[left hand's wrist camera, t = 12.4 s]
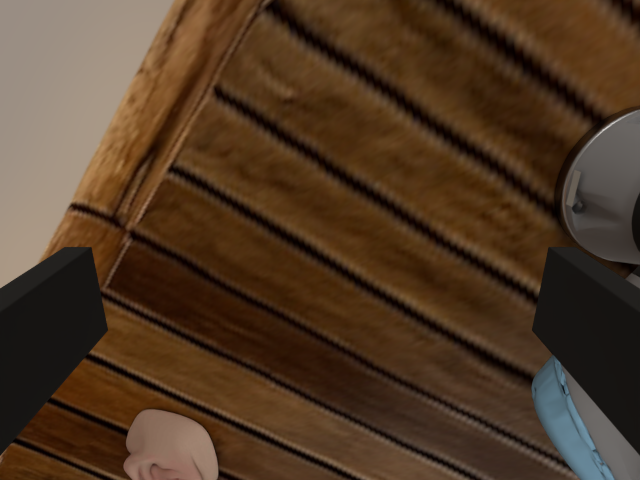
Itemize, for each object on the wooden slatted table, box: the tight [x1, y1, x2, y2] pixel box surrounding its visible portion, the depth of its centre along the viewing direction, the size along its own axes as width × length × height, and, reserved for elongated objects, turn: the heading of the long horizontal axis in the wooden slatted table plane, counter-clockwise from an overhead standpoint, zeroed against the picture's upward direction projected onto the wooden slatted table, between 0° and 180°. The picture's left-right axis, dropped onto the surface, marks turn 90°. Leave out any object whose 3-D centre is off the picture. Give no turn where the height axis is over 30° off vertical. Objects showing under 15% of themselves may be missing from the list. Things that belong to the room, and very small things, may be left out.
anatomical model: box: [124, 409, 218, 480], centre depth 52 cm, size 13×4×12 cm
